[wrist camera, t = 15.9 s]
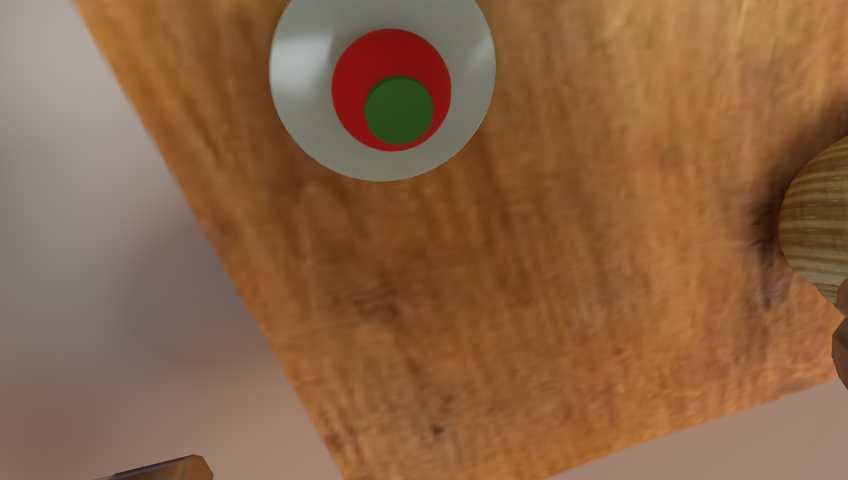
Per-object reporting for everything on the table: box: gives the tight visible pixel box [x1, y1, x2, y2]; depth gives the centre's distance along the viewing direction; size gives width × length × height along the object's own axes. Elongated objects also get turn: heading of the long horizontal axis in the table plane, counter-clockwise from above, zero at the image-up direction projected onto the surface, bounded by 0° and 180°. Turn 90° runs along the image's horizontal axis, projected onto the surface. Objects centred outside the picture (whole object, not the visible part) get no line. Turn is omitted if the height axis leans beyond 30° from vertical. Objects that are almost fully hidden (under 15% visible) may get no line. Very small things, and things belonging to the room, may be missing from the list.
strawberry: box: [331, 29, 451, 152], centre depth 19 cm, size 3×3×4 cm
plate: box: [269, 0, 496, 182], centre depth 21 cm, size 7×7×1 cm
